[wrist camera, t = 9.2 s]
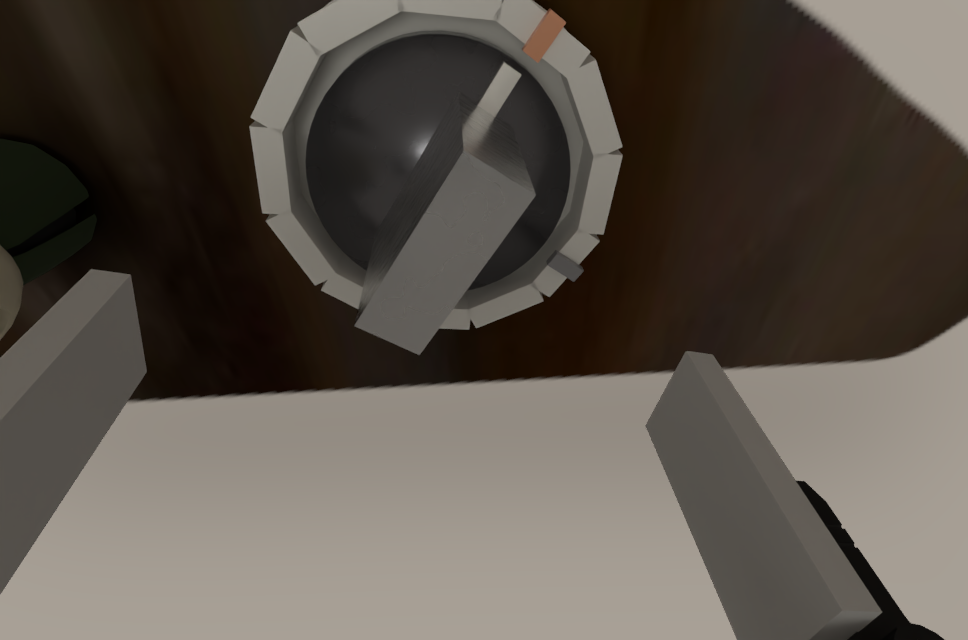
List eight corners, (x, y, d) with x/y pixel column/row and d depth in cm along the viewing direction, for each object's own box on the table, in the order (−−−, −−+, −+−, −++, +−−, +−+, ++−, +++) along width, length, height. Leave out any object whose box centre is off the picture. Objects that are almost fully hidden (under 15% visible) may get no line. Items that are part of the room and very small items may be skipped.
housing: (232, 185, 27) (192, 233, 23) (383, -132, 21) (366, -150, 16) (479, 320, 33) (484, 379, 29) (660, 105, 26) (703, 140, 22)
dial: (478, 310, 29) (488, 431, 22) (273, 208, 25) (207, 315, 18) (615, 129, 24) (686, 211, 17) (386, -36, 20) (354, -18, 13)
